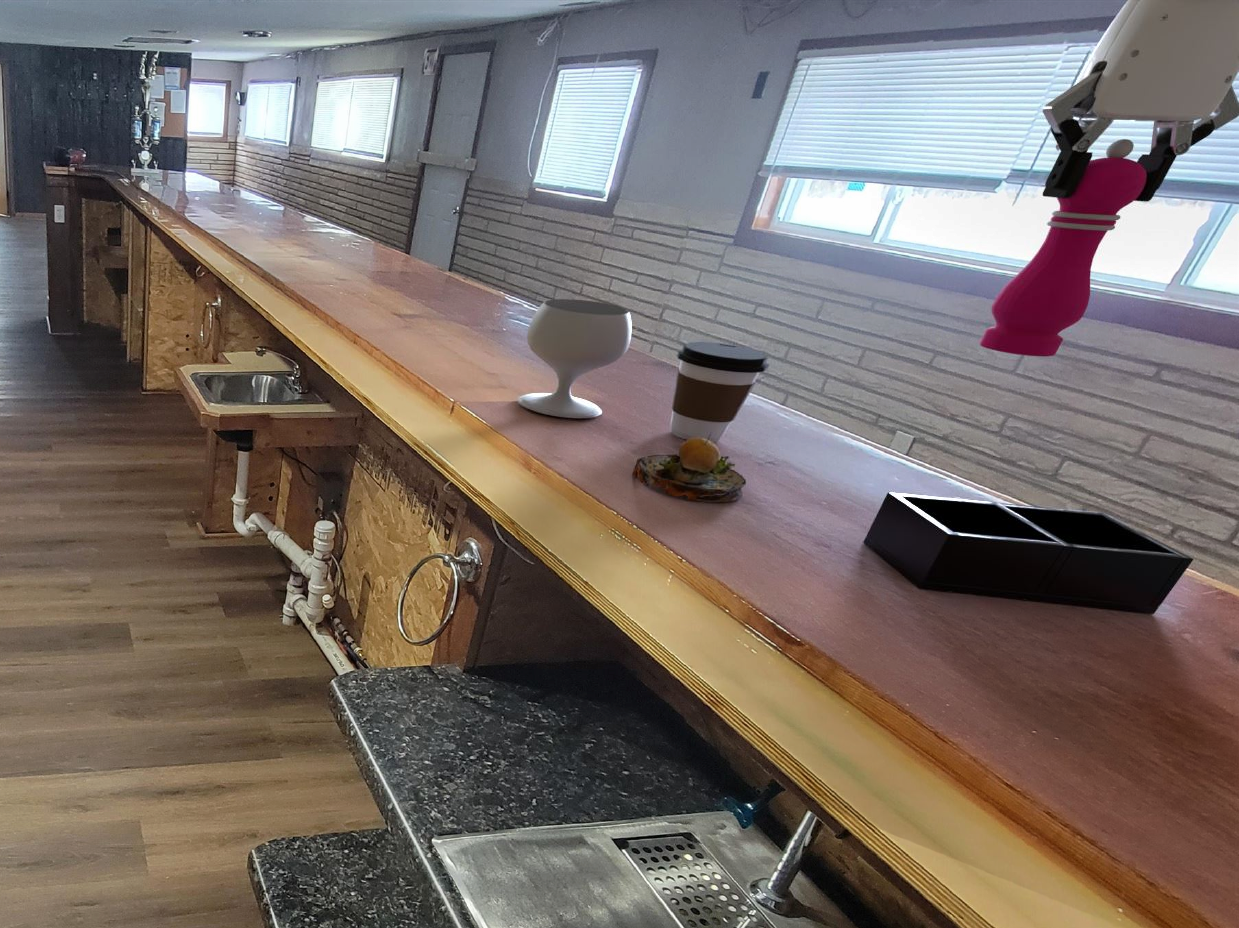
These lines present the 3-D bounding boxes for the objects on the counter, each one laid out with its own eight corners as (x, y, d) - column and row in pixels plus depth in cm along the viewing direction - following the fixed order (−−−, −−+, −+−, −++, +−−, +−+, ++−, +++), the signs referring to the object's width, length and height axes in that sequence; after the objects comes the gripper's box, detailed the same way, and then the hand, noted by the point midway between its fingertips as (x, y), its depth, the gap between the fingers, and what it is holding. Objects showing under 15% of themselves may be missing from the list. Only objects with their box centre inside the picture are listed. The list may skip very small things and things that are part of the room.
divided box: (1071, 564, 86) (1104, 512, 83) (1154, 614, 77) (1194, 558, 74) (862, 542, 88) (887, 492, 85) (919, 588, 79) (949, 534, 76)
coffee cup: (658, 418, 125) (685, 337, 119) (741, 434, 119) (774, 350, 113) (646, 436, 117) (675, 350, 111) (735, 454, 111) (769, 365, 105)
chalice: (613, 428, 120) (645, 320, 112) (511, 415, 123) (536, 310, 116) (602, 401, 131) (631, 303, 124) (510, 390, 135) (532, 294, 127)
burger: (749, 484, 102) (773, 425, 98) (731, 513, 94) (756, 450, 90) (645, 459, 108) (663, 403, 105) (620, 484, 100) (639, 424, 96)
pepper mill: (1026, 344, 92) (1133, 140, 82) (1079, 359, 86) (1201, 141, 76) (956, 340, 93) (1054, 137, 83) (1004, 355, 87) (1116, 138, 77)
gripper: (1285, -19, 75) (1163, 200, 84) (1068, -20, 78) (972, 192, 87) (1370, -32, 69) (1229, 206, 78) (1131, -34, 71) (1021, 197, 80)
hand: (1095, 196), depth 82 cm, fingers closed on pepper mill, 6 cm apart
